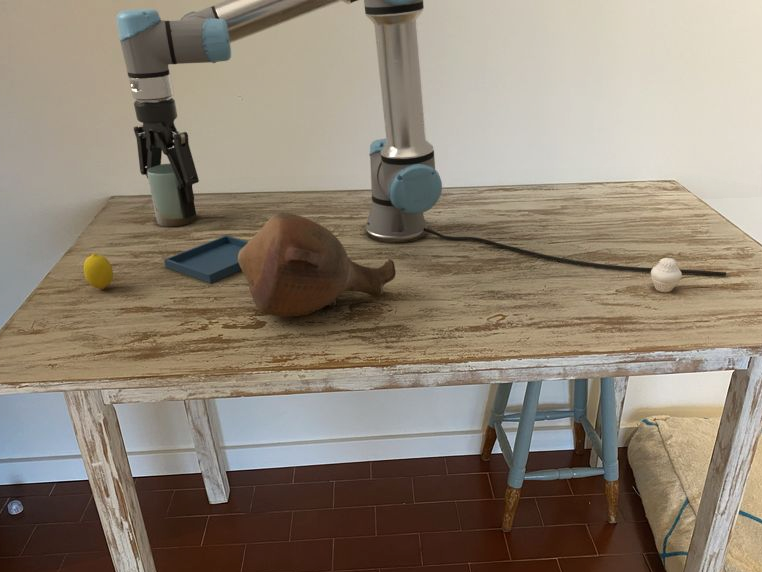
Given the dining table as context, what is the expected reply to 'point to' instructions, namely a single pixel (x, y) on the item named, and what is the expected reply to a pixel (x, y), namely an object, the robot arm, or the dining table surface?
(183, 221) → the pillar candle
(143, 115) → the robot arm
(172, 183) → the cup
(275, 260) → the jug
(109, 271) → the lemon
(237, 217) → the dining table surface
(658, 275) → the muffin
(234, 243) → the tray
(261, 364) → the dining table surface
